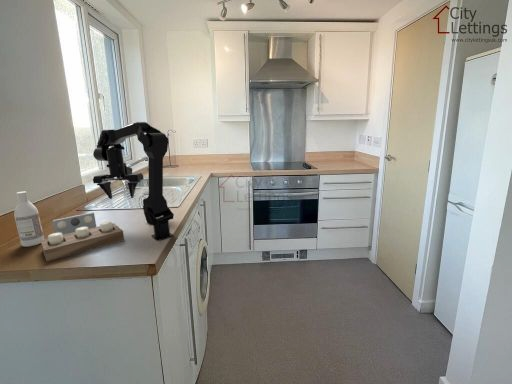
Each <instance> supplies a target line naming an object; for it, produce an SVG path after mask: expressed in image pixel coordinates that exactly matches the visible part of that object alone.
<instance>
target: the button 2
mask: <svg viewBox="0 0 512 384" xmlns="http://www.w3.org/2000/svg"><path fill="white" fill-rule="evenodd" d="M112 223H113V222H112V221H110V220H109V221H103V222H101V223H99V226H100V227H101V233H103V232H107V231H111V230H113V226H112Z"/></svg>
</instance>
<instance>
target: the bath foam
mask: <svg viewBox="0 0 512 384" xmlns="http://www.w3.org/2000/svg"><path fill="white" fill-rule="evenodd" d="M16 197H17V204H16V206H15V209H14V211H13V212H14V213H13V214H14V220H15V224H16V225H15V226H16V228H17V233H18V236H19V240H20V245H21V246H22V247H26V248H27V247H34V246H37V245H40V244H41V240H43V239H45V236H44V232H43V228H42V222H41V218H40V213H39V210H38V208H37V207H36V206H35V205H34V204H33V203H32V202H31V201H30V200H29V197H28V191H17V192H16Z"/></svg>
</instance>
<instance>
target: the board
mask: <svg viewBox="0 0 512 384" xmlns="http://www.w3.org/2000/svg"><path fill="white" fill-rule="evenodd" d="M112 226H113V230H111V231H107V232H103V233H101V227H100V225H99V226H96V227H95V228H90V229H89V234H90V236H86V237H82V238H78V239H77V236H76V232H73V233H69V234H64V235H63V240H64V242H62V243H58V244H54V245H50V243H49V239H48V237H47V238H44V239H43V240H41V243H40V244H41V248H42V253H43V255H44V258H45V261H46V262H47V261H48V262H52V261H54V260H58V259H61V258H65V257H69V256H73V255H76V254H80V253H84V252H87V251H91V250H95V249H98V248H102V247H105V246H109V245H113V244H117V243H119V242H124V241H125V236H124V235H125V234H124V230H123V229H122V228H120V227H119V226H118V225H117V224H115V223H113V222H112Z"/></svg>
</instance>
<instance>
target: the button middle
mask: <svg viewBox="0 0 512 384" xmlns="http://www.w3.org/2000/svg"><path fill="white" fill-rule="evenodd" d="M75 231H76V236H77V239H78V238H82V237H86V236H90V234H89V229H88V227H80V228H77V229H76V230H75Z"/></svg>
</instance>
